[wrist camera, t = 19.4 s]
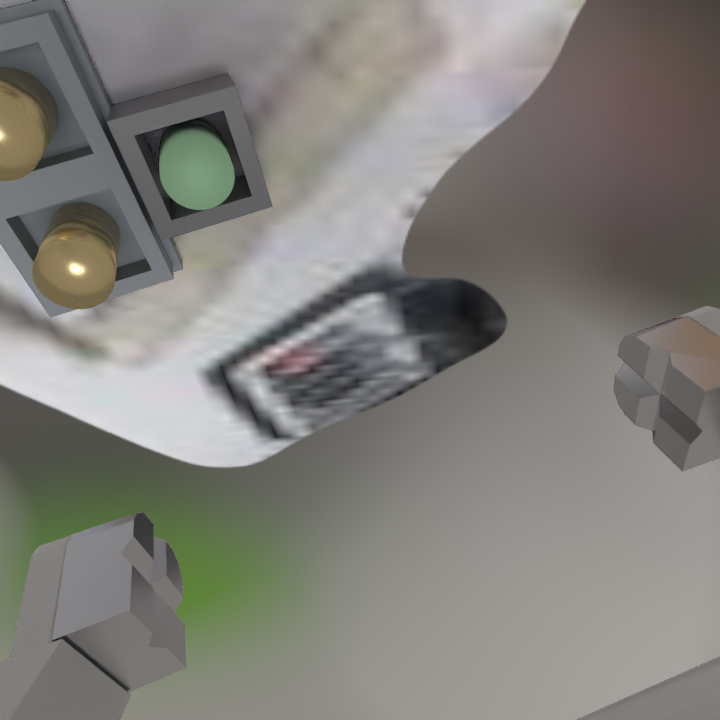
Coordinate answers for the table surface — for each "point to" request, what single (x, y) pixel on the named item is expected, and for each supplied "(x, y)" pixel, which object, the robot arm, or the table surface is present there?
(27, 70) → the compartment tray
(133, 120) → the button housing
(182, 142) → the button
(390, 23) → the table surface
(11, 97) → the billet
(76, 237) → the cylinder
